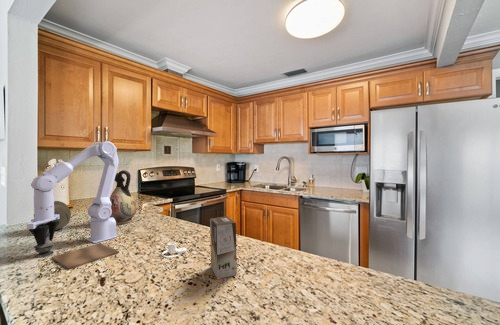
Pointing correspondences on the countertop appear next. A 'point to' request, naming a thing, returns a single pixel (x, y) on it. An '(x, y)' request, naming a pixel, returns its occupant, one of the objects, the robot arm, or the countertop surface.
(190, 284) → the countertop surface
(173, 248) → the teacup and saucer
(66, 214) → the grey rounded lump
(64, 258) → the walnut board
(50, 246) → the dark grey turned piece
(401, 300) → the countertop surface
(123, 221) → the ceramic jug
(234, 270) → the coffee box
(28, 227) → the robot arm
